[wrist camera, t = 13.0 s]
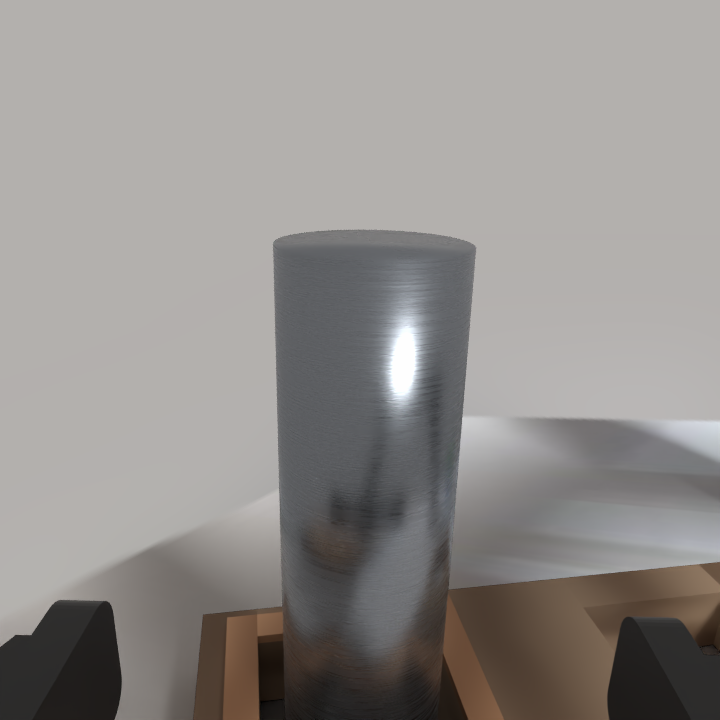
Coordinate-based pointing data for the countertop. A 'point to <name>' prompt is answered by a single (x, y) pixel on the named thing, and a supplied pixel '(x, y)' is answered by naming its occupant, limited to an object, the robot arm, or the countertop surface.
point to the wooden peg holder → (486, 645)
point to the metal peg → (368, 464)
